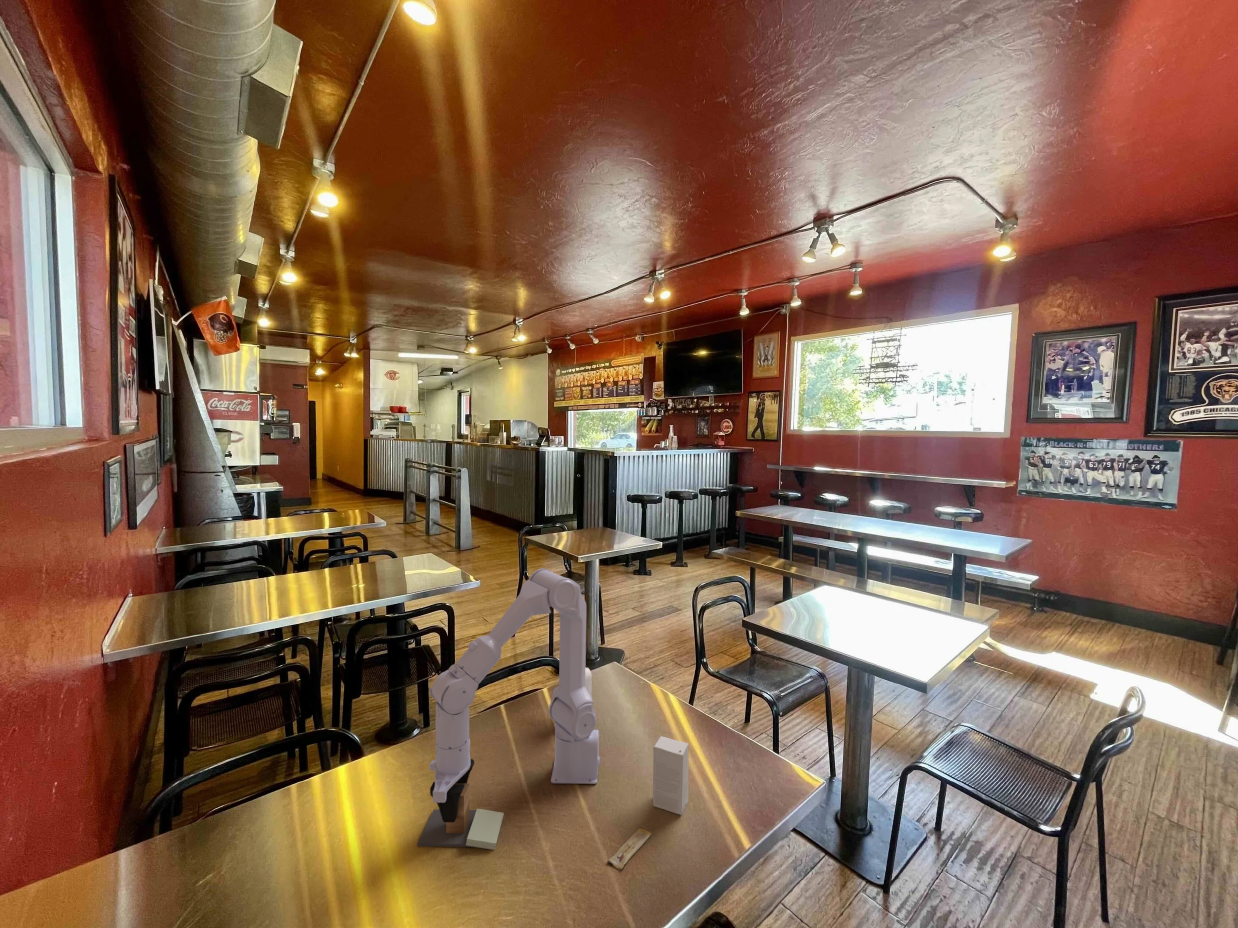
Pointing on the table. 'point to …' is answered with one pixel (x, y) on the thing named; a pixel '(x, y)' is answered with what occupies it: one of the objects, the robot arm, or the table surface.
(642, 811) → the table surface
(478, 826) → the sage tile
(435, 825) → the mat
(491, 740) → the table surface
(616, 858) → the snack bar
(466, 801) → the oak push block
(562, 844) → the table surface
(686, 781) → the skincare box
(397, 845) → the table surface
